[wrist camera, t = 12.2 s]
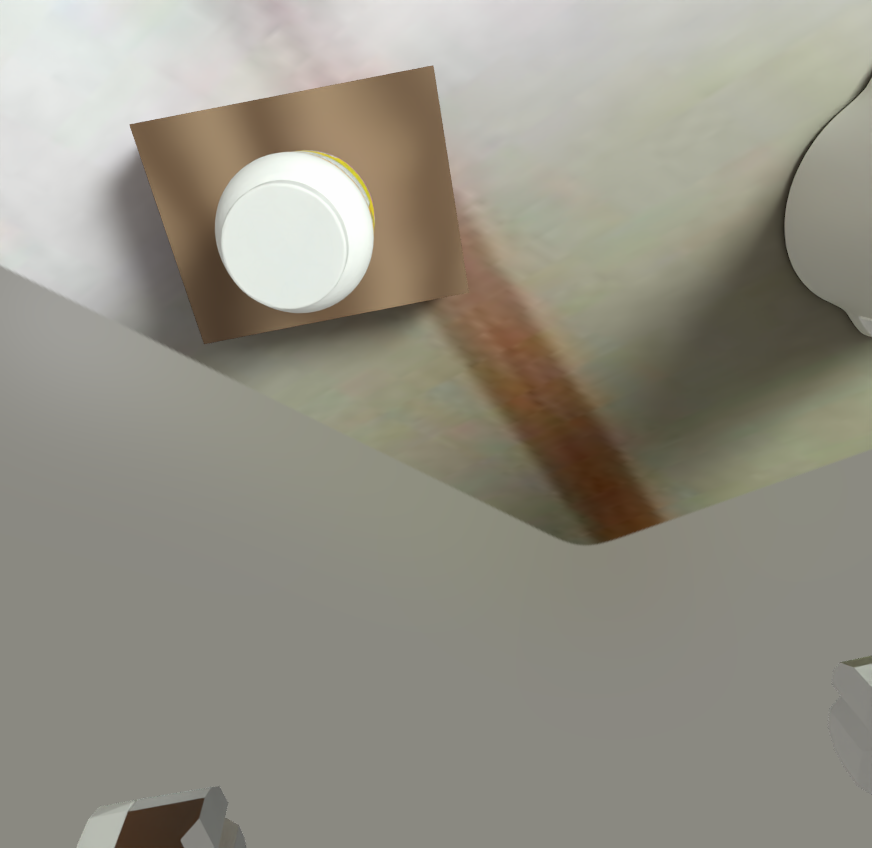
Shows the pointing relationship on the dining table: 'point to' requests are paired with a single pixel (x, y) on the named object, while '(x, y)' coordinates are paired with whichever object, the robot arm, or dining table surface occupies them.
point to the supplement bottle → (296, 230)
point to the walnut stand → (330, 133)
